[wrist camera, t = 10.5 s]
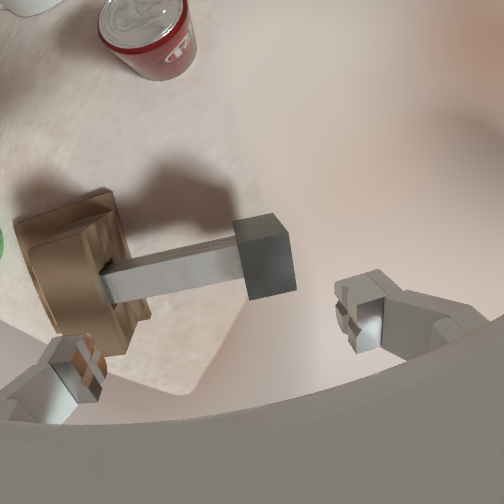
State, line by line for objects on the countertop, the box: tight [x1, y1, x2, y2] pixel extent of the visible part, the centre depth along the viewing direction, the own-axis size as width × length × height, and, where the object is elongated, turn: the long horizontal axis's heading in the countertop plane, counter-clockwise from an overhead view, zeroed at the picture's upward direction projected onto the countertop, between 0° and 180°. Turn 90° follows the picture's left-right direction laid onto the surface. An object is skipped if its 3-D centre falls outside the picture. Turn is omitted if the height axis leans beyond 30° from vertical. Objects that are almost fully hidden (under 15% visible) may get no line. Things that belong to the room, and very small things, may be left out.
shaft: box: [98, 213, 297, 304], centre depth 27 cm, size 5×20×7 cm, turn 101°
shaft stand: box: [13, 191, 151, 357], centre depth 29 cm, size 16×15×11 cm
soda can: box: [97, 0, 197, 81], centre depth 22 cm, size 7×7×12 cm
